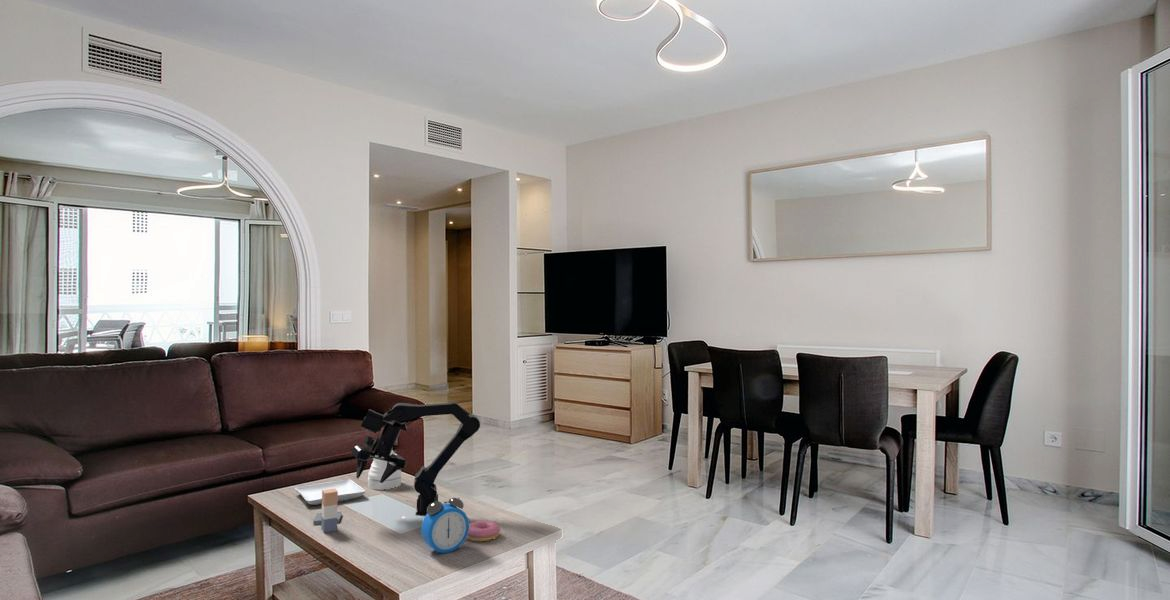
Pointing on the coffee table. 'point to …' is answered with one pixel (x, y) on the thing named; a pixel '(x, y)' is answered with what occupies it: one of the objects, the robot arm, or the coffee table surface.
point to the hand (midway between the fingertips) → (369, 480)
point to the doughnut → (483, 530)
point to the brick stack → (329, 510)
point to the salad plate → (344, 488)
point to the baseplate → (319, 518)
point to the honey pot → (376, 475)
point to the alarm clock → (445, 525)
